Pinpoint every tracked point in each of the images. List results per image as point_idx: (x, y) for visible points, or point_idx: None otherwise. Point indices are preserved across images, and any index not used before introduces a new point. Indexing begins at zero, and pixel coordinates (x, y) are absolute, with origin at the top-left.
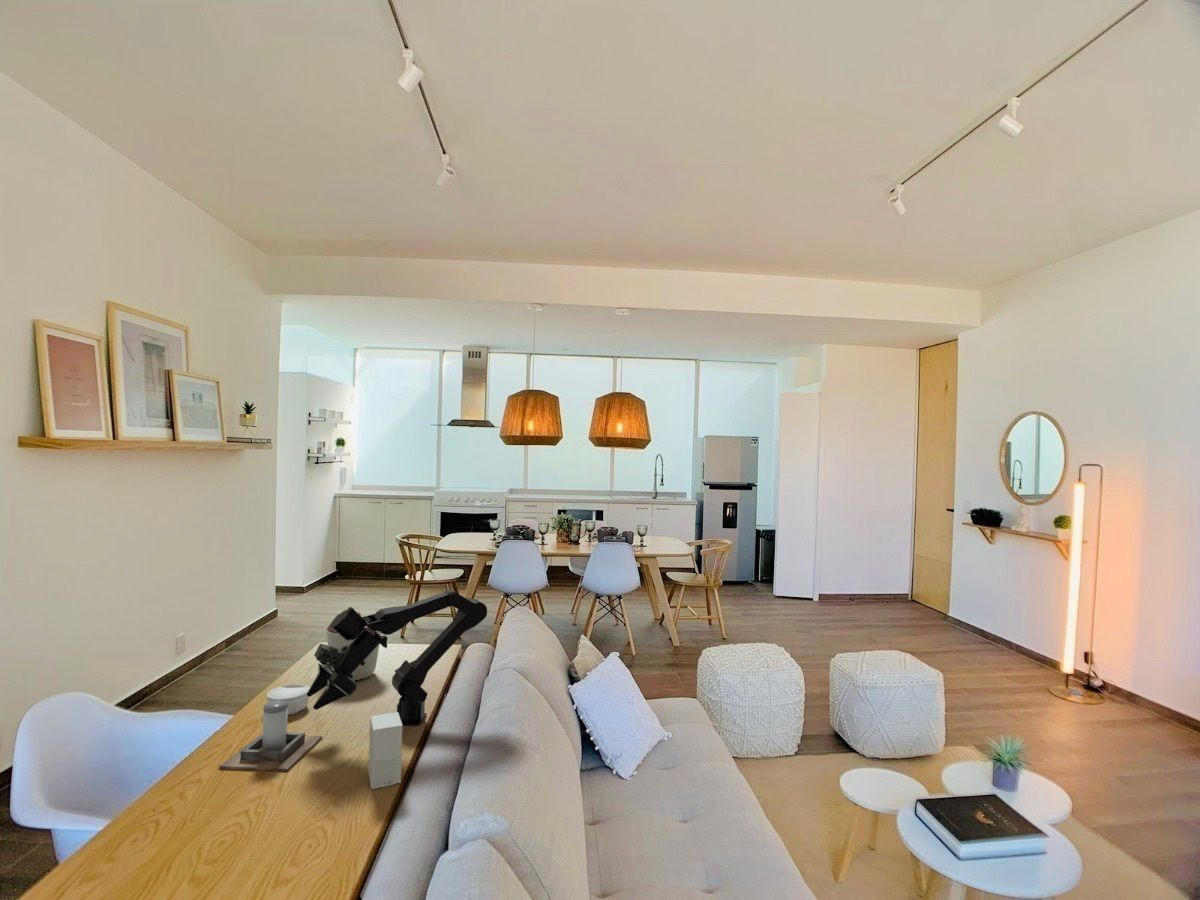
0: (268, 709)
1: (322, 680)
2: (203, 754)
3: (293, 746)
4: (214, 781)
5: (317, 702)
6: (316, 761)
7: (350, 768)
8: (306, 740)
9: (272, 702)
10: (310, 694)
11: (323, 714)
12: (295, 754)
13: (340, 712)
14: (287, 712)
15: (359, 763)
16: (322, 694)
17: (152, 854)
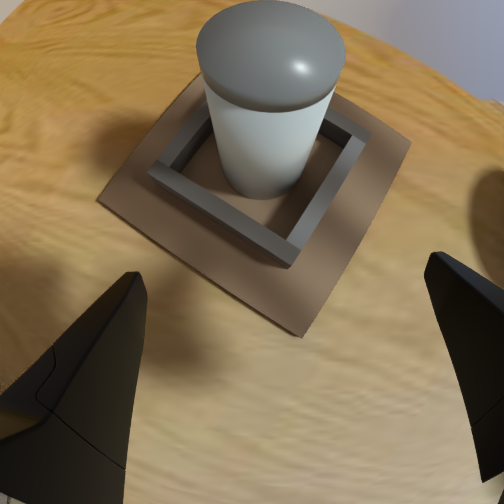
0: (216, 14)
1: (502, 381)
2: (338, 29)
3: (212, 217)
4: (167, 47)
5: (98, 301)
6: None
7: None
8: (288, 276)
9: (321, 32)
10: (433, 279)
11: None
12: (184, 227)
13: None
14: (257, 129)
15: None
16: (68, 352)
17: (12, 40)
